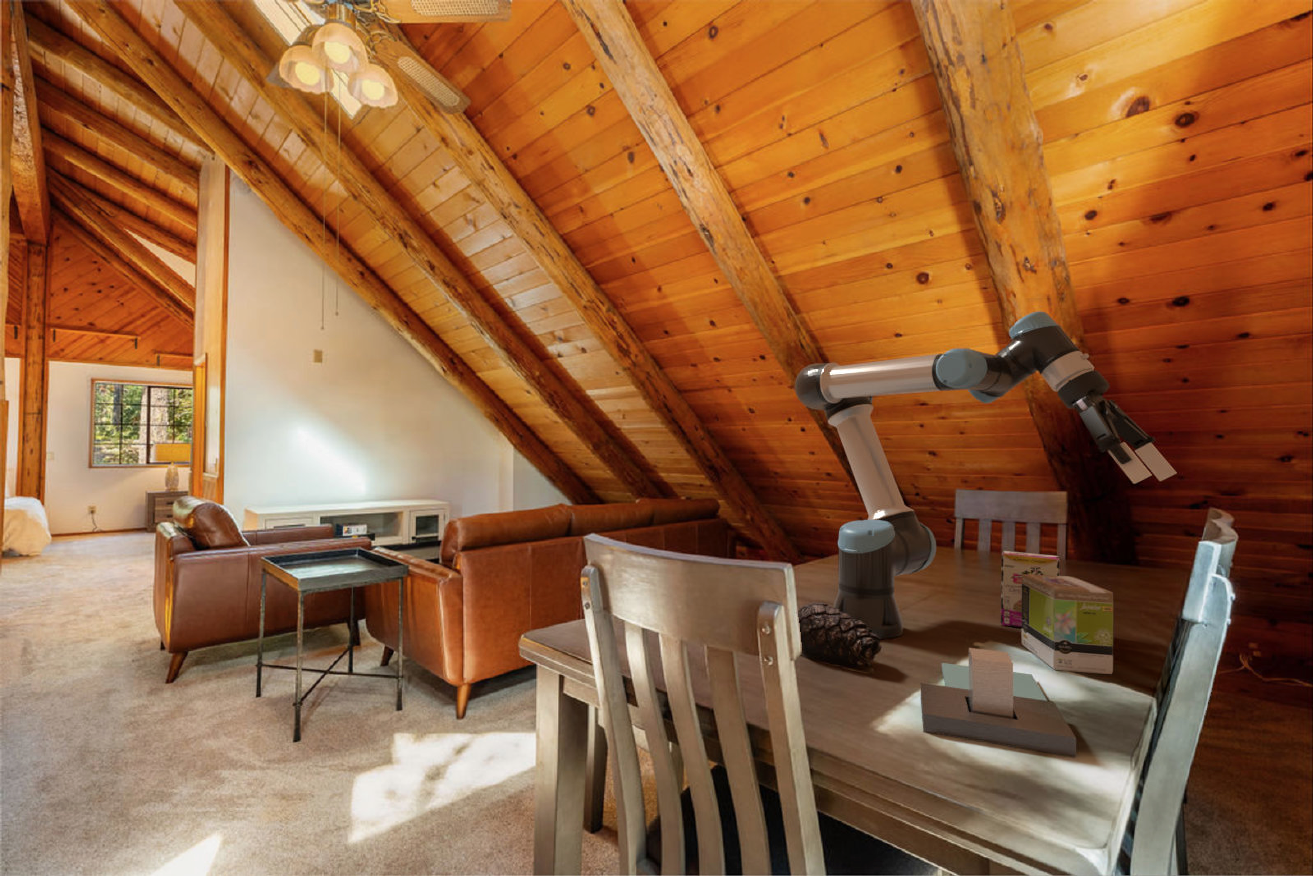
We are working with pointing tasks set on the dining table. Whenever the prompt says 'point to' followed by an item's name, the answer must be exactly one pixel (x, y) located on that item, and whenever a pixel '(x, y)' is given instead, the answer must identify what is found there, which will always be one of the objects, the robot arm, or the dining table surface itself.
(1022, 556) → the candy bar box
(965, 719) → the grey slotted board
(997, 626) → the dining table surface
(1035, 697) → the pad
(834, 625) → the pine cone
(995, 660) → the pale wooden block
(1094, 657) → the tea box
